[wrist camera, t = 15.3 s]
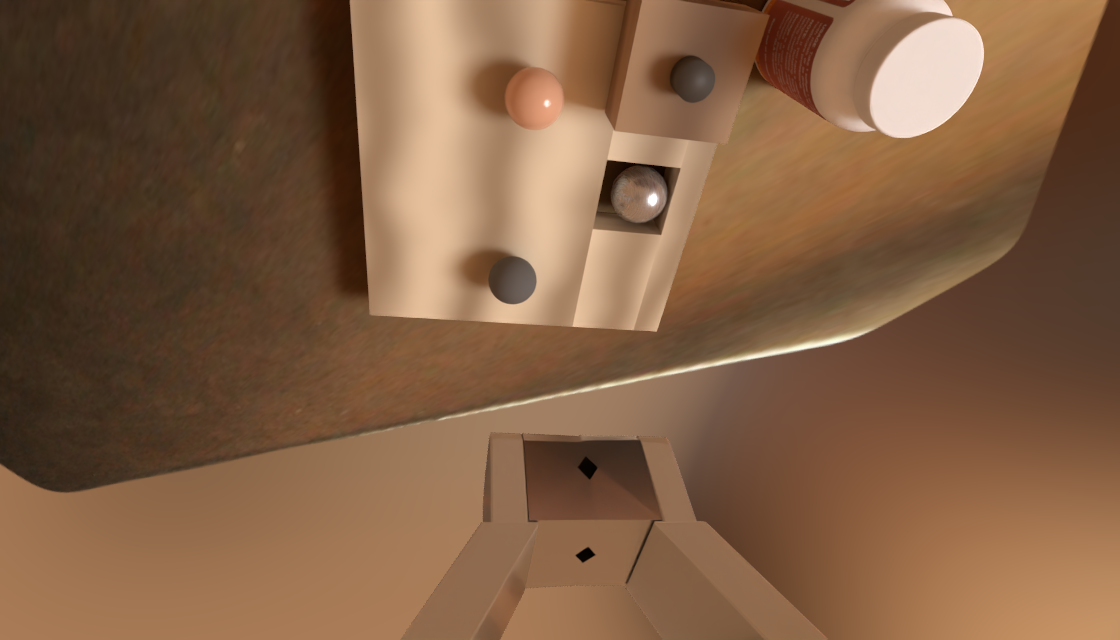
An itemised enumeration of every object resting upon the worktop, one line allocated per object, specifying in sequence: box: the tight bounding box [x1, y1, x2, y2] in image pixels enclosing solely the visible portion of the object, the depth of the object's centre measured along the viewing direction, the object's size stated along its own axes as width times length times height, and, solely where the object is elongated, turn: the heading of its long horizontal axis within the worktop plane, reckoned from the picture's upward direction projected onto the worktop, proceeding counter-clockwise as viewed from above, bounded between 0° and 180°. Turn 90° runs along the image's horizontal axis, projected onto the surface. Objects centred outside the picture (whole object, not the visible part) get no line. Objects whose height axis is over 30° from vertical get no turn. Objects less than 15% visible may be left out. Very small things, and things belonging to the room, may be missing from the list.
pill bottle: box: [755, 0, 984, 138], centre depth 27 cm, size 6×6×11 cm
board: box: [350, 0, 717, 331], centre depth 34 cm, size 20×20×2 cm
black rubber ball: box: [488, 256, 537, 304], centre depth 35 cm, size 3×3×3 cm
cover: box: [605, 0, 770, 145], centre depth 27 cm, size 6×6×4 cm
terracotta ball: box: [505, 67, 564, 130], centre depth 28 cm, size 3×3×3 cm
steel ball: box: [611, 165, 668, 223], centre depth 34 cm, size 4×4×4 cm
